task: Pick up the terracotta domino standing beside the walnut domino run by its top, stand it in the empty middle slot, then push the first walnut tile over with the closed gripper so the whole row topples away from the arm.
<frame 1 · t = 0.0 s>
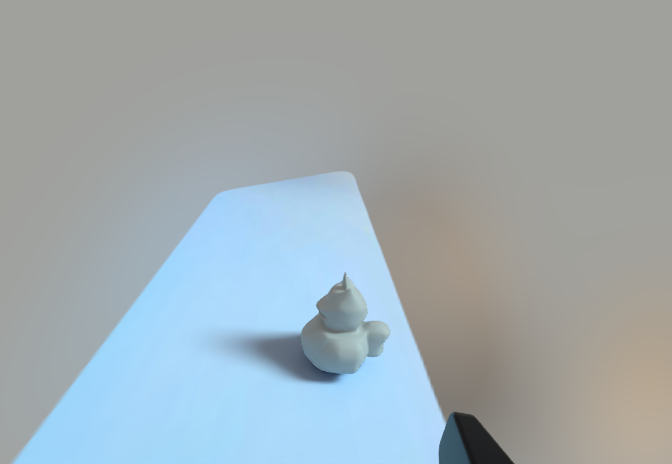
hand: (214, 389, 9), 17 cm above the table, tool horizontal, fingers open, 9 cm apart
grey lumpy figure: (339, 365, 35), on the table
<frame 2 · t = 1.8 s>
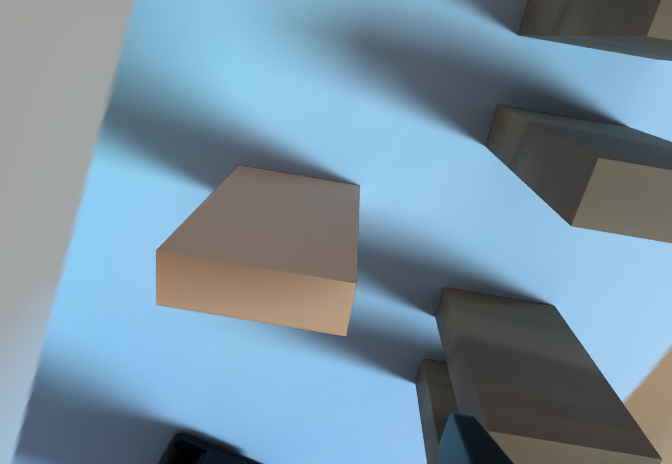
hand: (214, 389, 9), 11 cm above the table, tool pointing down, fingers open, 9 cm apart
domino 5: (596, 22, 16), on the table
domino 2: (494, 311, 21), on the table
domino 1: (469, 380, 22), on the table
domino 4: (556, 137, 17), on the table
domino 3: (297, 193, 19), on the table
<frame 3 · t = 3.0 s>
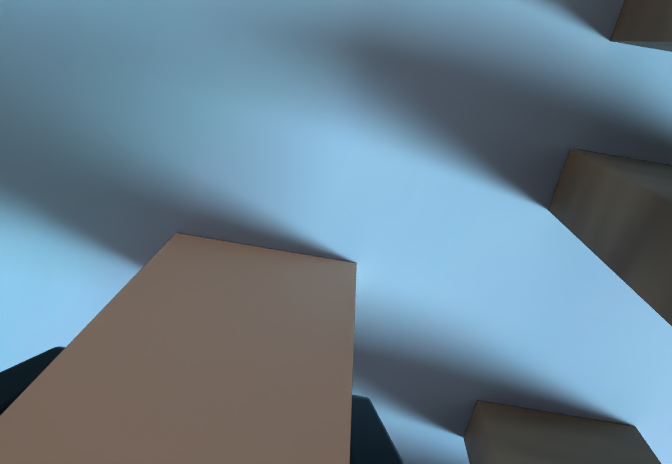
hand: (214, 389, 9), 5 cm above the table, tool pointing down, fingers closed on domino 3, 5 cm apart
domino 2: (547, 432, 14), on the table
domino 4: (658, 196, 11), on the table
domino 3: (263, 273, 13), on the table, touching gripper
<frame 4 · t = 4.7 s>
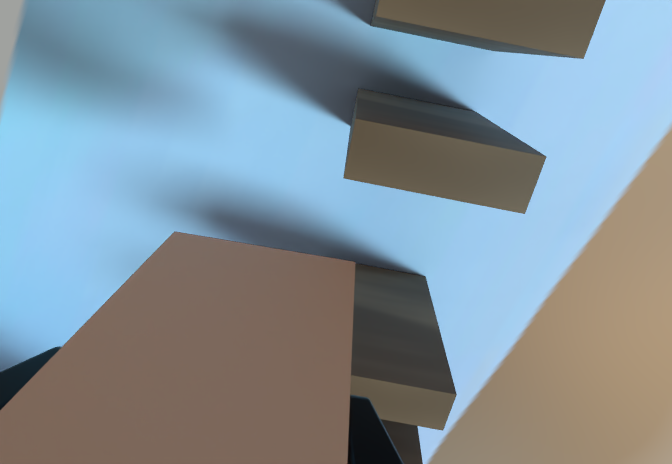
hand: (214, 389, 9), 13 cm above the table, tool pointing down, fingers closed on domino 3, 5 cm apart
domino 5: (437, 16, 18), on the table
domino 2: (371, 281, 22), on the table
domino 1: (355, 346, 24), on the table
domino 4: (412, 119, 19), on the table
domino 3: (262, 272, 13), point 9 cm above the table, touching gripper
when the fingers open (6 cm above the table, at t = 6.8 s): domino 3 stays where it is, on the table.
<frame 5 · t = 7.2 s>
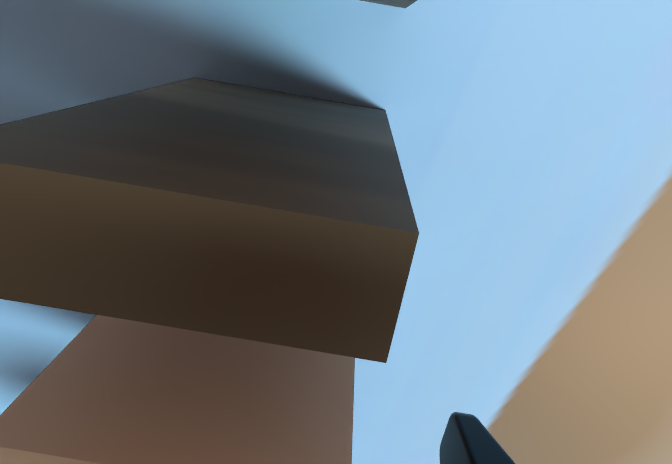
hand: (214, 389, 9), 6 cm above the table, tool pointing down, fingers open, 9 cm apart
domino 4: (286, 124, 12), on the table
domino 3: (271, 256, 14), on the table
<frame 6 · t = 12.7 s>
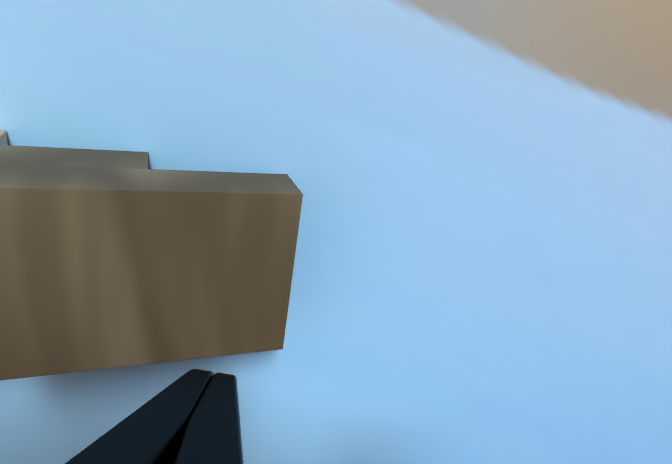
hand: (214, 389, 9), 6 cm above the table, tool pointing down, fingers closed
domino 2: (149, 242, 13), point 1 cm above the table, tilted 66°, touching domino 3
domino 1: (284, 263, 13), point 1 cm above the table, tilted 66°
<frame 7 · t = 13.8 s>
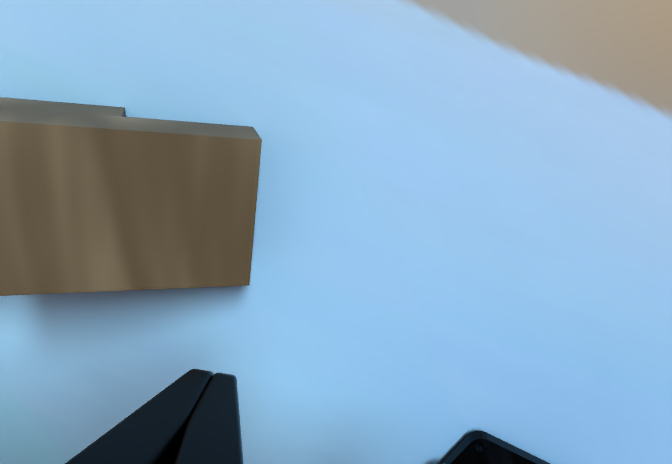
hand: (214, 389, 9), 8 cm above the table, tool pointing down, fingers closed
domino 2: (125, 188, 15), point 1 cm above the table, tilted 68°, touching domino 1, domino 3
domino 1: (250, 207, 15), point 1 cm above the table, tilted 68°, touching domino 2
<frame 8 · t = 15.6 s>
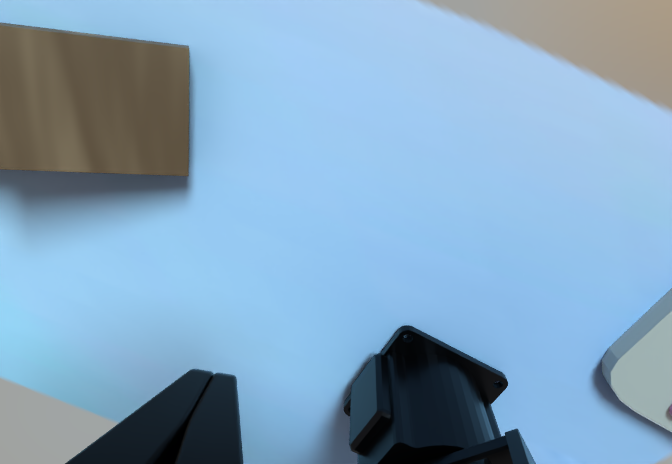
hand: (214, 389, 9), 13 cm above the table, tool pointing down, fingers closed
domino 1: (188, 112, 19), point 1 cm above the table, tilted 69°, touching domino 2
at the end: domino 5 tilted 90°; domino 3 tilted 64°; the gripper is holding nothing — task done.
